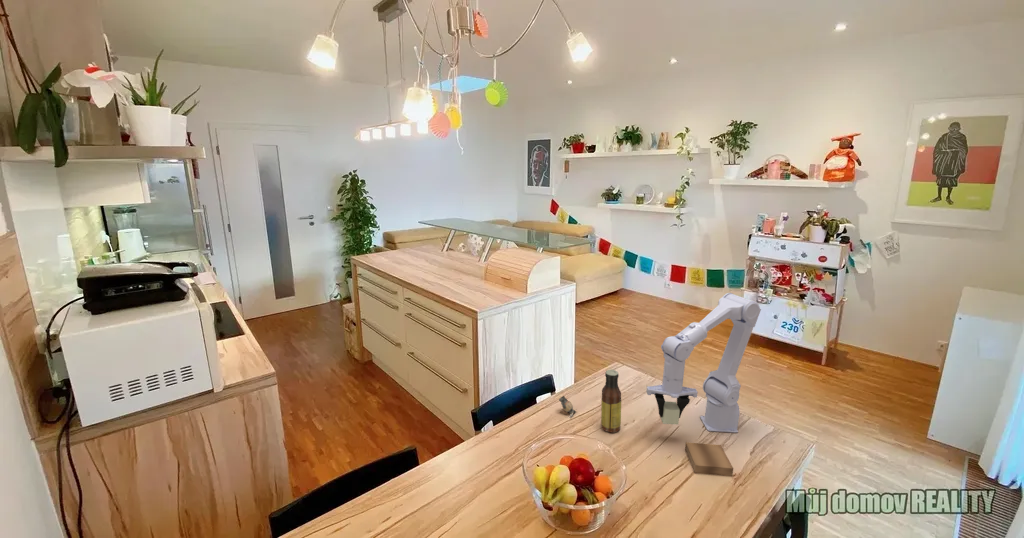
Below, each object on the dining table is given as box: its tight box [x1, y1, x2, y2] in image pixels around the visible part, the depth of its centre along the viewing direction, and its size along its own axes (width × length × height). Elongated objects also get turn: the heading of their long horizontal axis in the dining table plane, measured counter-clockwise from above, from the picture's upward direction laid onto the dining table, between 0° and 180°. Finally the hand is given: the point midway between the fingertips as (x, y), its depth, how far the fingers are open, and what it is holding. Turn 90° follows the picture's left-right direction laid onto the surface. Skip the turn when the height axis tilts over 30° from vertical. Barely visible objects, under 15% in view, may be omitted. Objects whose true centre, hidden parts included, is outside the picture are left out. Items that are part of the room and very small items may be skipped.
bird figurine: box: [558, 396, 577, 419], centre depth 147 cm, size 5×5×6 cm
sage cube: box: [659, 400, 680, 425], centre depth 132 cm, size 4×4×5 cm
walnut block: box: [684, 441, 734, 477], centre depth 124 cm, size 10×10×3 cm
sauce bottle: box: [600, 369, 622, 434], centre depth 137 cm, size 6×6×20 cm
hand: (669, 415), depth 132 cm, fingers closed on sage cube, 4 cm apart
